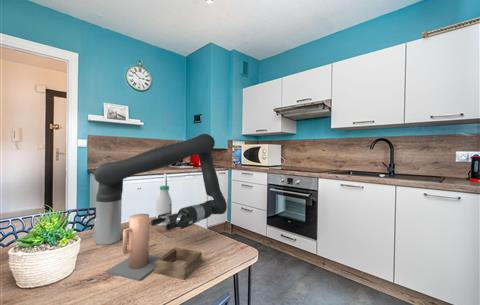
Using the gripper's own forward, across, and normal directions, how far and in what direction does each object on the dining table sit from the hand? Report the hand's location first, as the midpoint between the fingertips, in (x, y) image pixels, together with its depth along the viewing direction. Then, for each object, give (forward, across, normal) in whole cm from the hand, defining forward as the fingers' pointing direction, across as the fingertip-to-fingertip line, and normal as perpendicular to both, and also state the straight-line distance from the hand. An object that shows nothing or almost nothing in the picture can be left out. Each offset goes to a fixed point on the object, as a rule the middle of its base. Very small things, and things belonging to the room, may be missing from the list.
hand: (158, 225), depth 78 cm
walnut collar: (0, +11, +12) cm, 16 cm away
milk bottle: (-24, -28, +12) cm, 39 cm away
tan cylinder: (+9, 0, +11) cm, 14 cm away
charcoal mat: (+8, 0, +12) cm, 14 cm away
